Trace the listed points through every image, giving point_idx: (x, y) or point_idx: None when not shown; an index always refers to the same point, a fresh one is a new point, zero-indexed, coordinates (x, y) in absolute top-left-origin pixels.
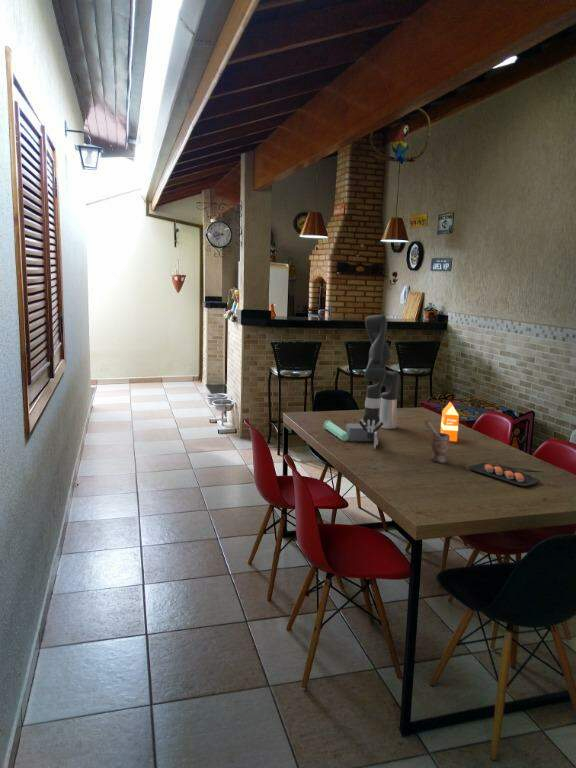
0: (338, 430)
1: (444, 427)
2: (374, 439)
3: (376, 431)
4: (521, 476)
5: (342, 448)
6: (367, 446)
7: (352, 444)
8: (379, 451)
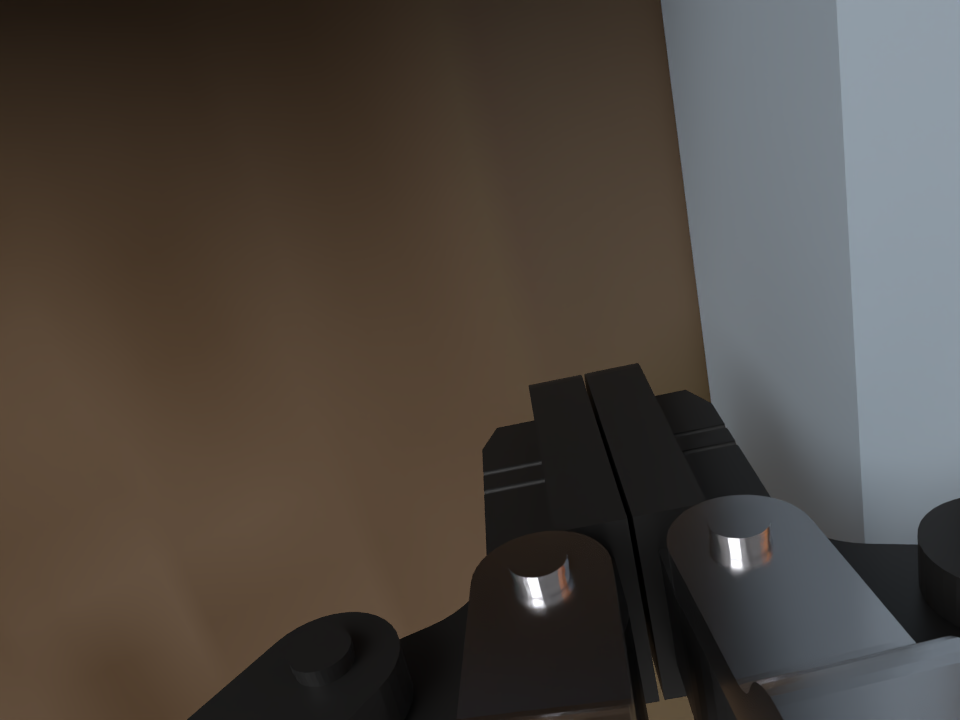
0: None
1: None
2: None
3: (951, 11)
4: None
5: (22, 715)
6: (509, 300)
7: (66, 309)
8: None
